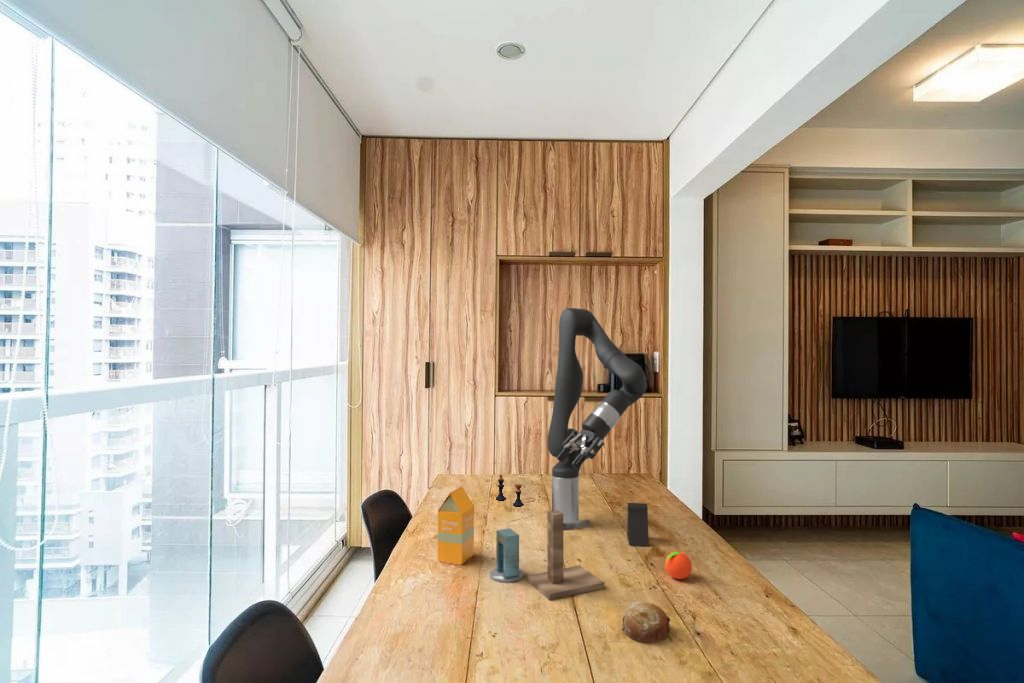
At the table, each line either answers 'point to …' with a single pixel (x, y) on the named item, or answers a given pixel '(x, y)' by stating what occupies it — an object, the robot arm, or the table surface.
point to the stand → (557, 578)
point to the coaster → (500, 576)
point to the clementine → (678, 565)
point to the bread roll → (645, 622)
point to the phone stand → (637, 524)
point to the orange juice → (456, 528)
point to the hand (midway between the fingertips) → (566, 463)
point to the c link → (507, 553)
